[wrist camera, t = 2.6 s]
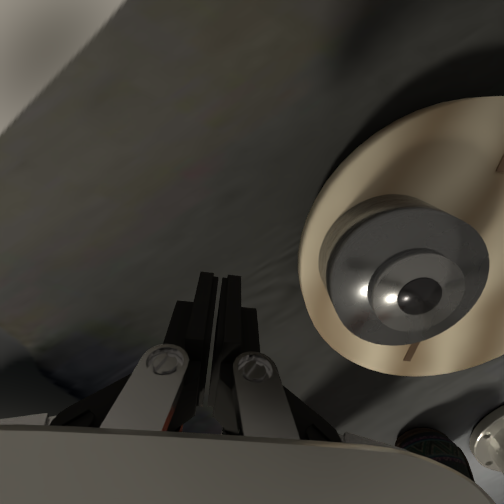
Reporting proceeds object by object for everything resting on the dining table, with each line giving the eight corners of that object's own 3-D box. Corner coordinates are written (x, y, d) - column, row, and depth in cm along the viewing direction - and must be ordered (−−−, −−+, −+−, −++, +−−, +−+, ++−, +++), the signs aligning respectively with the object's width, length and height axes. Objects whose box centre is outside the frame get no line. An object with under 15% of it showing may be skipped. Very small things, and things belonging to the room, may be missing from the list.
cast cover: (469, 204, 20) (539, 233, 15) (416, 315, 23) (459, 365, 19) (337, 184, 19) (368, 207, 14) (305, 301, 23) (321, 350, 18)
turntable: (659, 128, 20) (703, 129, 18) (496, 369, 29) (513, 388, 27) (341, 67, 18) (353, 62, 16) (274, 346, 27) (276, 363, 25)
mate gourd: (377, 454, 37) (420, 565, 28) (401, 412, 34) (459, 521, 25) (430, 460, 37) (490, 570, 28) (459, 420, 34) (536, 529, 25)
